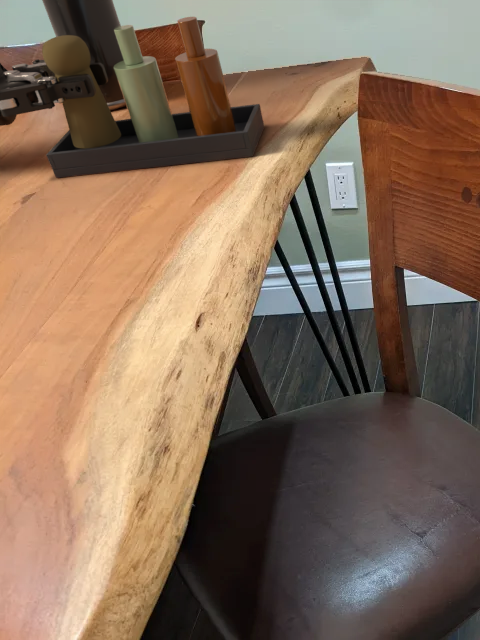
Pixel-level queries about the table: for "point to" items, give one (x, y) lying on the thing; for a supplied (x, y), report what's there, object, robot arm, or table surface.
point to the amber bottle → (203, 83)
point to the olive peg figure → (81, 113)
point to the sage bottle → (143, 90)
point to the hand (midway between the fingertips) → (98, 79)
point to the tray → (160, 147)
